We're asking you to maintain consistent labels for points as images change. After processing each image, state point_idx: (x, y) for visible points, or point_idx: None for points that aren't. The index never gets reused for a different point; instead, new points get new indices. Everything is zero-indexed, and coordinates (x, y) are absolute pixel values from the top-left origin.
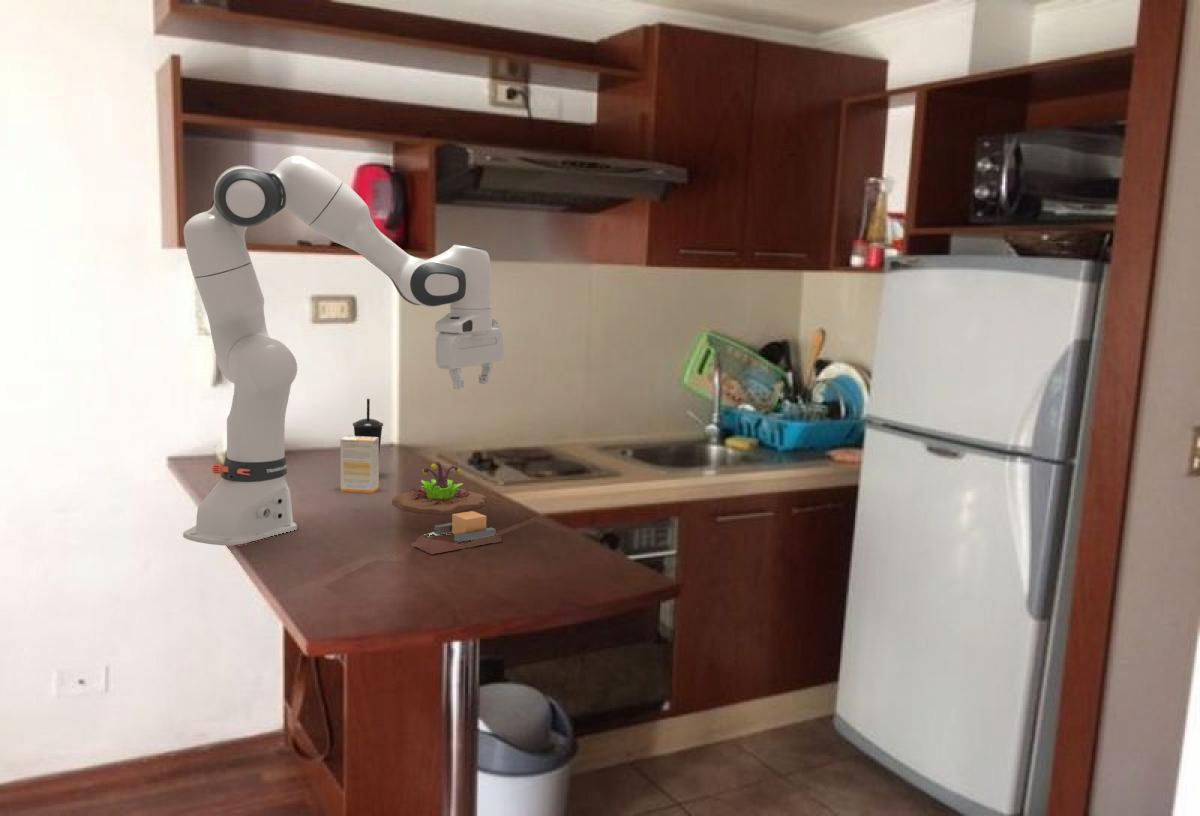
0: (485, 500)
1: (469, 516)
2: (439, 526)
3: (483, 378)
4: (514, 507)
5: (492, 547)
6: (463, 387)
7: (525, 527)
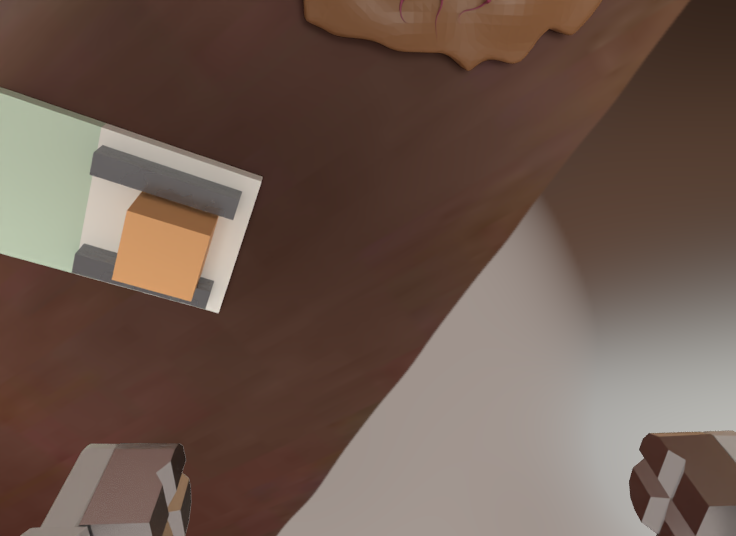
0: (563, 33)
1: (148, 267)
2: (99, 171)
3: (666, 528)
4: (575, 132)
5: (163, 312)
6: (186, 514)
7: (381, 277)
